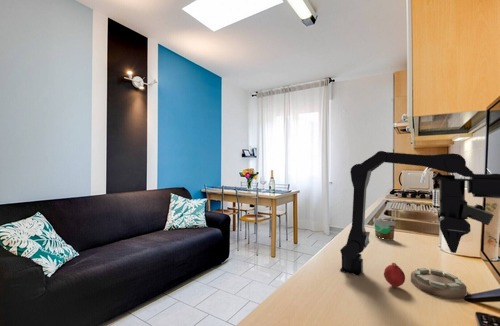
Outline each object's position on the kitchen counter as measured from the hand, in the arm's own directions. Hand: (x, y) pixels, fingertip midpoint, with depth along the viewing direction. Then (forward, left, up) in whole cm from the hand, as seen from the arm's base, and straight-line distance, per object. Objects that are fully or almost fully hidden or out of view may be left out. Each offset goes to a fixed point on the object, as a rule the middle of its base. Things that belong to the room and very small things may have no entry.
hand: (451, 247), depth 69 cm
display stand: (-3, +5, -15) cm, 16 cm away
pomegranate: (-14, -4, -15) cm, 21 cm away
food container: (-25, +50, -15) cm, 58 cm away
